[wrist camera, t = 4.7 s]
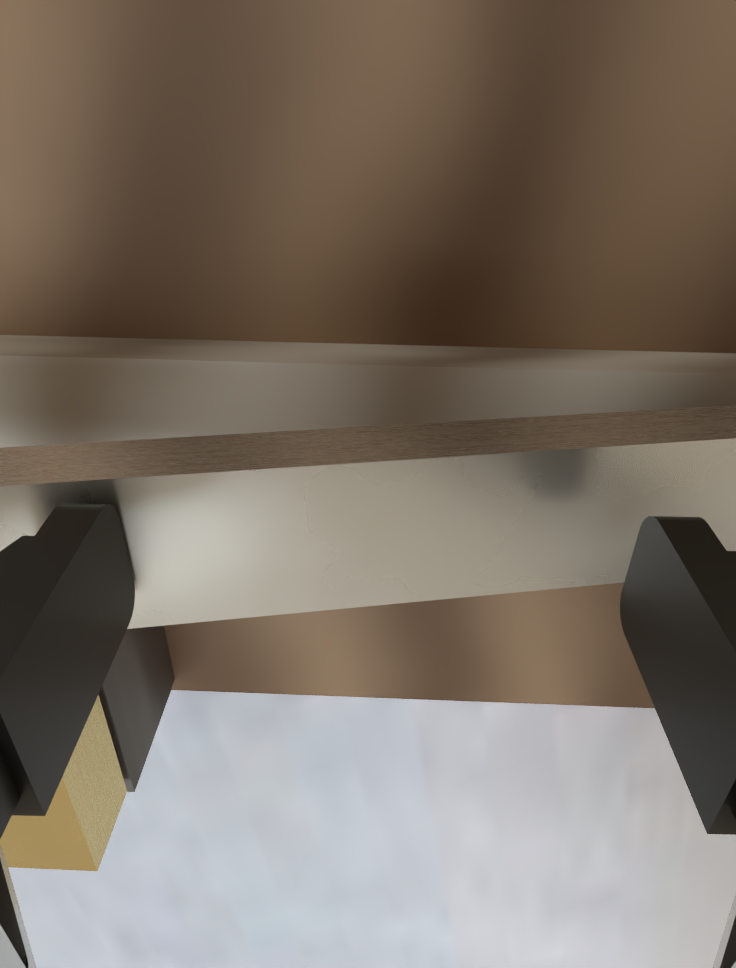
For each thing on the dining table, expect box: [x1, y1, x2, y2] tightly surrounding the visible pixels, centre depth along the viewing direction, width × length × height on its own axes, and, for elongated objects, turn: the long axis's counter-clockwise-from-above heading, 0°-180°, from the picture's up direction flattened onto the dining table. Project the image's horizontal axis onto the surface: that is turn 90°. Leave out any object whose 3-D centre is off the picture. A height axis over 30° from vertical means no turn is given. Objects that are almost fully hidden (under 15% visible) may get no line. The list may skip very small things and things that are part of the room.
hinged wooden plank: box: [0, 0, 736, 792], centre depth 15 cm, size 30×20×5 cm, turn 89°
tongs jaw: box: [0, 405, 736, 629], centre depth 12 cm, size 23×4×1 cm, turn 89°
